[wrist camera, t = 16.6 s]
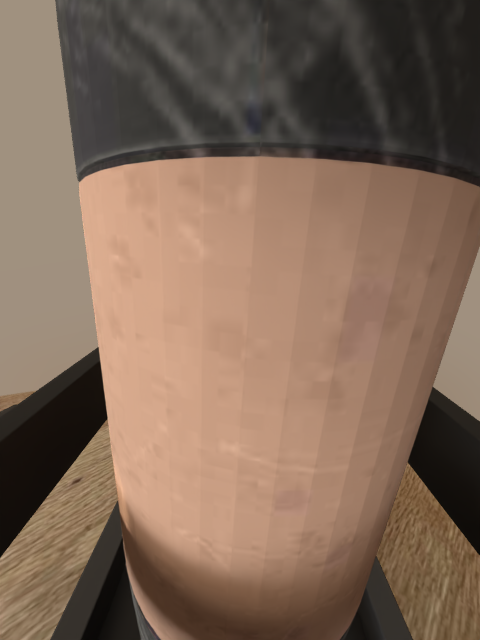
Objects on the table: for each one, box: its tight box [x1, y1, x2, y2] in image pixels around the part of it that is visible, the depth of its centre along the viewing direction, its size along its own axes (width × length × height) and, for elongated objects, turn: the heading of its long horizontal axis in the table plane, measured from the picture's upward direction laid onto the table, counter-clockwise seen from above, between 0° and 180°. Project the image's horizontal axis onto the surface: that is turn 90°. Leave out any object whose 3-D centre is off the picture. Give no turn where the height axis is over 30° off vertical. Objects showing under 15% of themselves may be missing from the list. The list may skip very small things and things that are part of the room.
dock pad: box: [50, 501, 413, 640], centre depth 11 cm, size 14×14×3 cm
